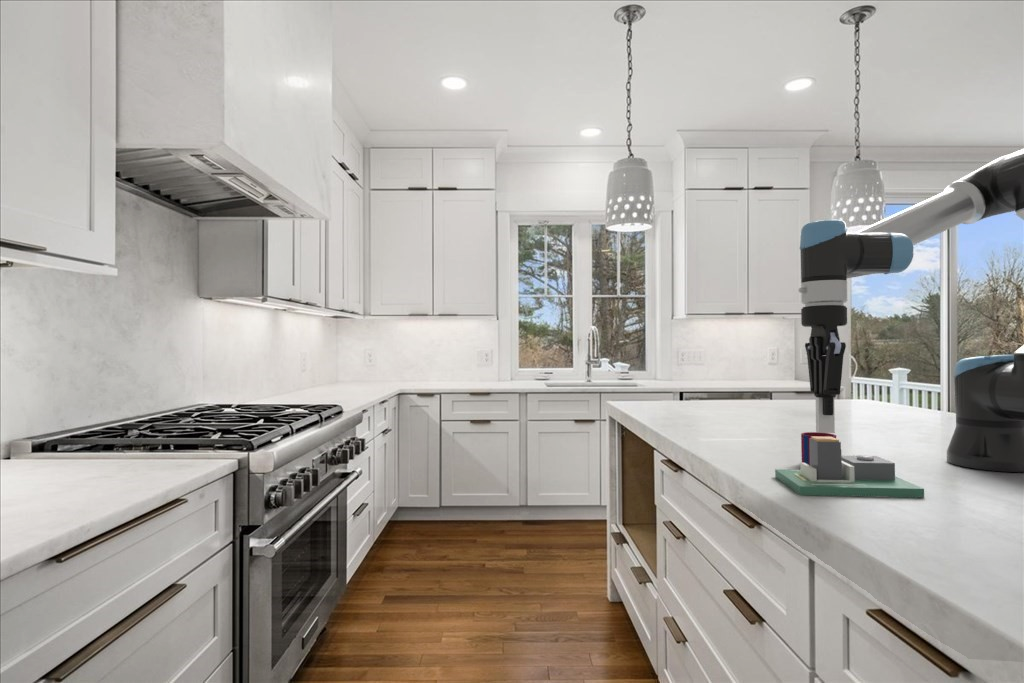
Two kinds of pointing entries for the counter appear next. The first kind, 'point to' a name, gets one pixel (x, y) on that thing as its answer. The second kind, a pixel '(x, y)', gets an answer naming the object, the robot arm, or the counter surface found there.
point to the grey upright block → (826, 457)
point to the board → (845, 484)
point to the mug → (805, 444)
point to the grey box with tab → (871, 467)
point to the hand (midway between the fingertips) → (825, 432)
